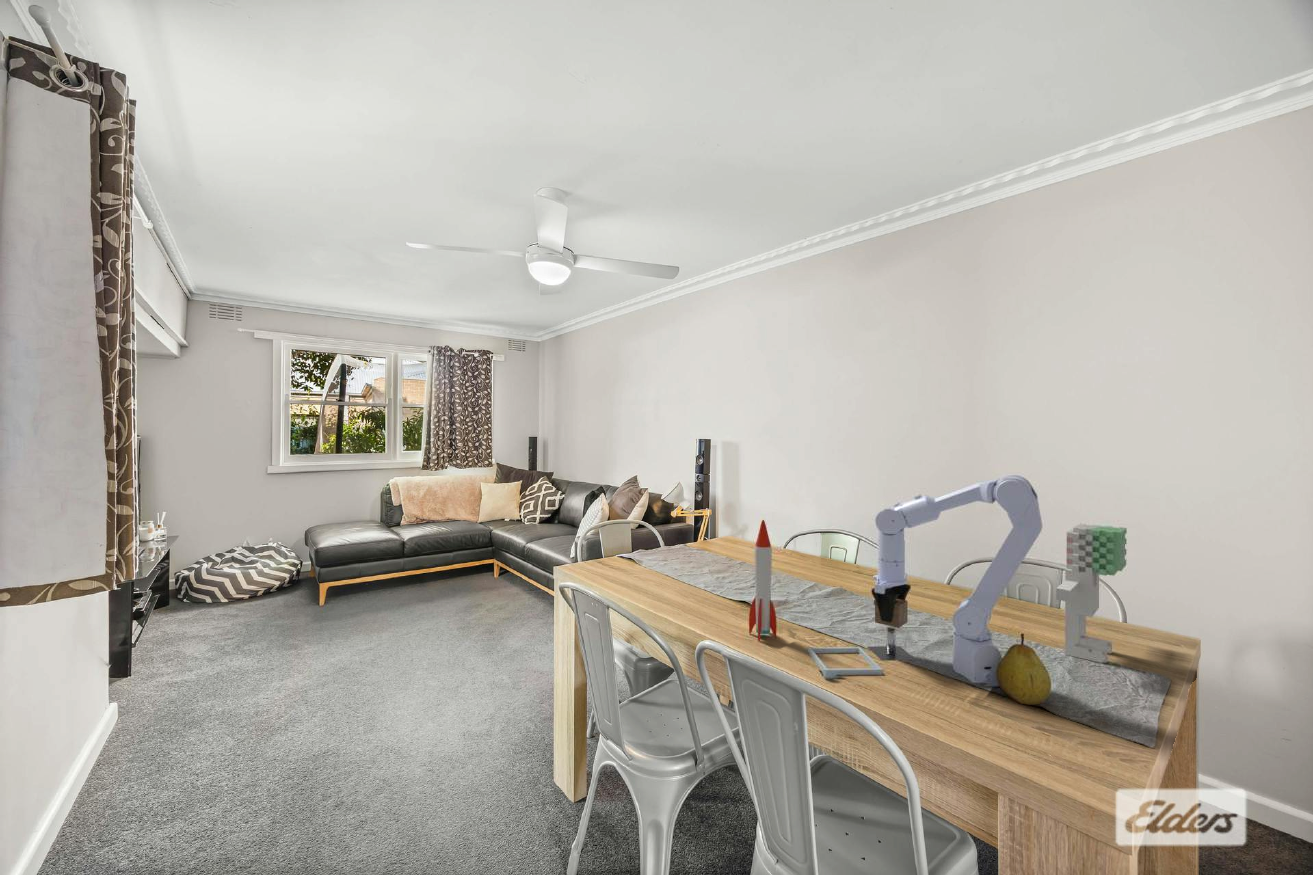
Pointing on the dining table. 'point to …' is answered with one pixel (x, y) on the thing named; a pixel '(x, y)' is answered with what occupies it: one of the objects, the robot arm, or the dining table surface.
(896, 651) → the post
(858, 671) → the grey rectangular frame
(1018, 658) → the fruit
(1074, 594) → the toy
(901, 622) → the collar
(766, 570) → the toy rocket
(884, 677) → the dining table surface
